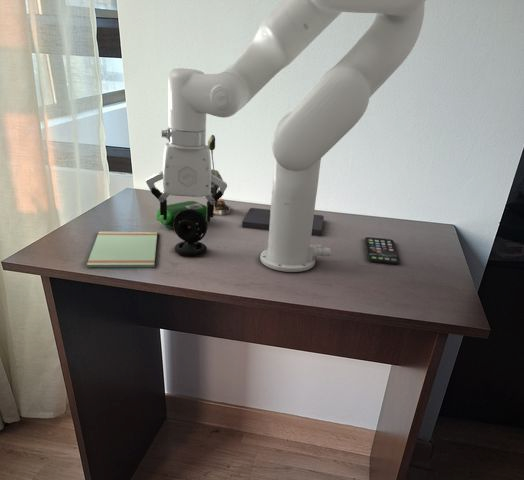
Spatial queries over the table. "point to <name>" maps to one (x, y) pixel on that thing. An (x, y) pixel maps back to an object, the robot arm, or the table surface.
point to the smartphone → (381, 250)
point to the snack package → (177, 207)
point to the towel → (124, 249)
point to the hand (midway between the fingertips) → (186, 219)
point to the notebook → (262, 220)
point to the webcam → (190, 232)
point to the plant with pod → (219, 205)
